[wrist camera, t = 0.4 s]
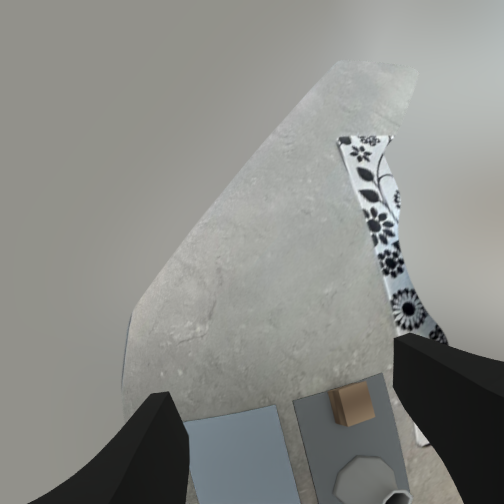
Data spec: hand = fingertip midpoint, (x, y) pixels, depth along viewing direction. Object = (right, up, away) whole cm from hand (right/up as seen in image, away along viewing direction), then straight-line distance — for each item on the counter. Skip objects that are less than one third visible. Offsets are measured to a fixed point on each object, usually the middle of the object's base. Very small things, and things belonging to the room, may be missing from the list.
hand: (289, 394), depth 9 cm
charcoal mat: (+11, -19, +21) cm, 30 cm away
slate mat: (-2, -22, +20) cm, 29 cm away
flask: (+12, -22, +19) cm, 31 cm away
